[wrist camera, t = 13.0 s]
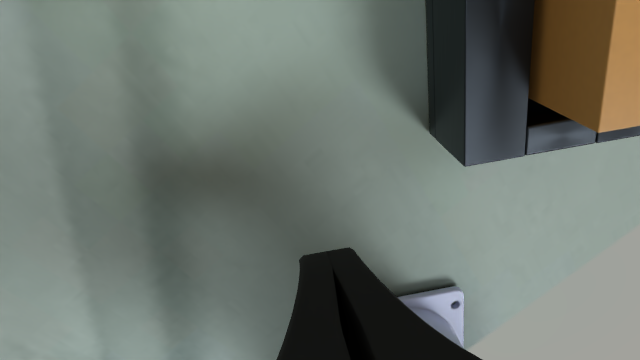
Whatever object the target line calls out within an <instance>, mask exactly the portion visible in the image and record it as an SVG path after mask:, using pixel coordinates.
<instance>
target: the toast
mask: <svg viewBox="0 0 640 360" xmlns="http://www.w3.org/2000/svg"><path fill="white" fill-rule="evenodd" d="M528 98H529V99H531V100H533V101H535V102H537V103H539V104H541V105H543V106H545V107H547V108H549V109H551V110H553V111H555V112H557V113H559V114H561V115H563V116H565V117H567V118H569V119H571V120H573V121H575V122H577V123H579V124H581V125H583V126H585V127H587V128H589V129H591V130H593V131H595V132H597V133H601V132H607V131H612V130H618V129H624V128H629V127H635V126H640V0H535V6H534V21H533V37H532V52H531V67H530V82H529V97H528Z"/></svg>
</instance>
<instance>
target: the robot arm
mask: <svg viewBox="0 0 640 360" xmlns="http://www.w3.org/2000/svg"><path fill="white" fill-rule="evenodd" d="M299 263H300V275H299V283H298V290H297V295H296V299H295V304H294V308H293V312H292V316H291V319H290V322H289V326H288V329H287V332H286V335H285V339H284V341H283V344H282V347H281V350H280V352H279V355H278V357H277V360H482V359H480V358H478V357H477V356H475V355H473V354H472V353H470V352H468V351H466V350H465V349H464V348H463V346H464V294H463V292H462V290H461V289H460V288H459V287H457V286H453V287H447V288H442V289H437V290H432V291H427V292H422V293H417V294H411V295H406V296H401V297H396V296H395V295H394V294H393V293H392V292H391V291H390V290H389V289H388V288H387V287H386V286H385V285H384V284H383V283H382V282H381V281H380V280H379V279H378V278H377V277H376V276H375V275H374V274H373V273H372V271H371V270H370V269H369V268H368V267H367V266H366V265H365V264H364V262H363V261H362V260H361V259H360V258H359V256H358V255H357V254H356V252H355V251H354V250H353V249H351V248H350V247H349V248H343V249H337V250H332V251H326V252H320V253H315V254H309V255H303V256H302V257H301V258H300V260H299ZM454 301H456V303H454V304H452V303H453V302H454Z"/></svg>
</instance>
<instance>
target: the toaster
mask: <svg viewBox="0 0 640 360" xmlns="http://www.w3.org/2000/svg"><path fill="white" fill-rule="evenodd" d="M534 6H535V0H426V11H427V48H428V86H429V123H430V134H431V135H432V136H433V137H434V138H436V140H437V141H438V142H439V143H440V144H441V145H443V146H444V147H445V148H446V149H447V150H448V151H449V152H450V153H451V154H452V155H453V156H454V157H455V158H456V159H457V160H458V161H459V162H460V163H461V164H462V165H463V166H465V167H466V166H471V165H477V164H483V163H488V162H494V161H500V160H505V159H511V158H517V157H522V156H525V155H531V154H536V153H542V152H548V151H553V150H559V149H565V148H570V147H576V146H582V145H587V144H593V143H595V142H596V143H600V142H606V141H611V140H617V139H623V138H628V137H634V136H640V126H635V127H629V128H624V129H618V130H612V131H607V132H601V133H597V132H595V131H593V130H591V129H589V128H587V127H585V126H583V125H581V124H579V123H577V122H575V121H573V120H571V119H569V118H567V117H565V116H563V115H561V114H559V113H557V112H555V111H553V110H551V109H549V108H547V107H545V106H543V105H541V104H539V103H537V102H535V101H533V100H531V99H529V98H528V97H529V82H530V67H531V52H532V37H533V21H534Z"/></svg>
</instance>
